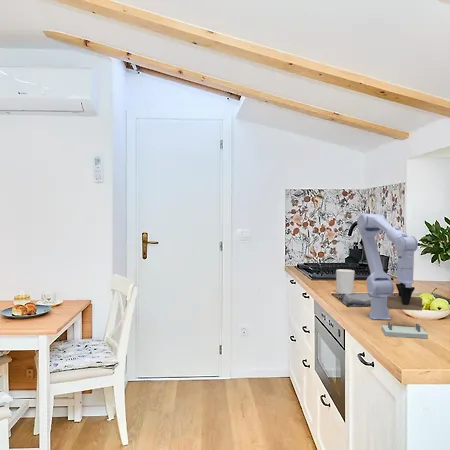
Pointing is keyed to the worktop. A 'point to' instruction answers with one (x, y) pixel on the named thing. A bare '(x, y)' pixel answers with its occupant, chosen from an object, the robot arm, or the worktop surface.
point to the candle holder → (345, 281)
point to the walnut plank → (396, 303)
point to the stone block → (358, 298)
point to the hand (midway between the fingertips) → (404, 303)
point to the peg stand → (404, 331)
